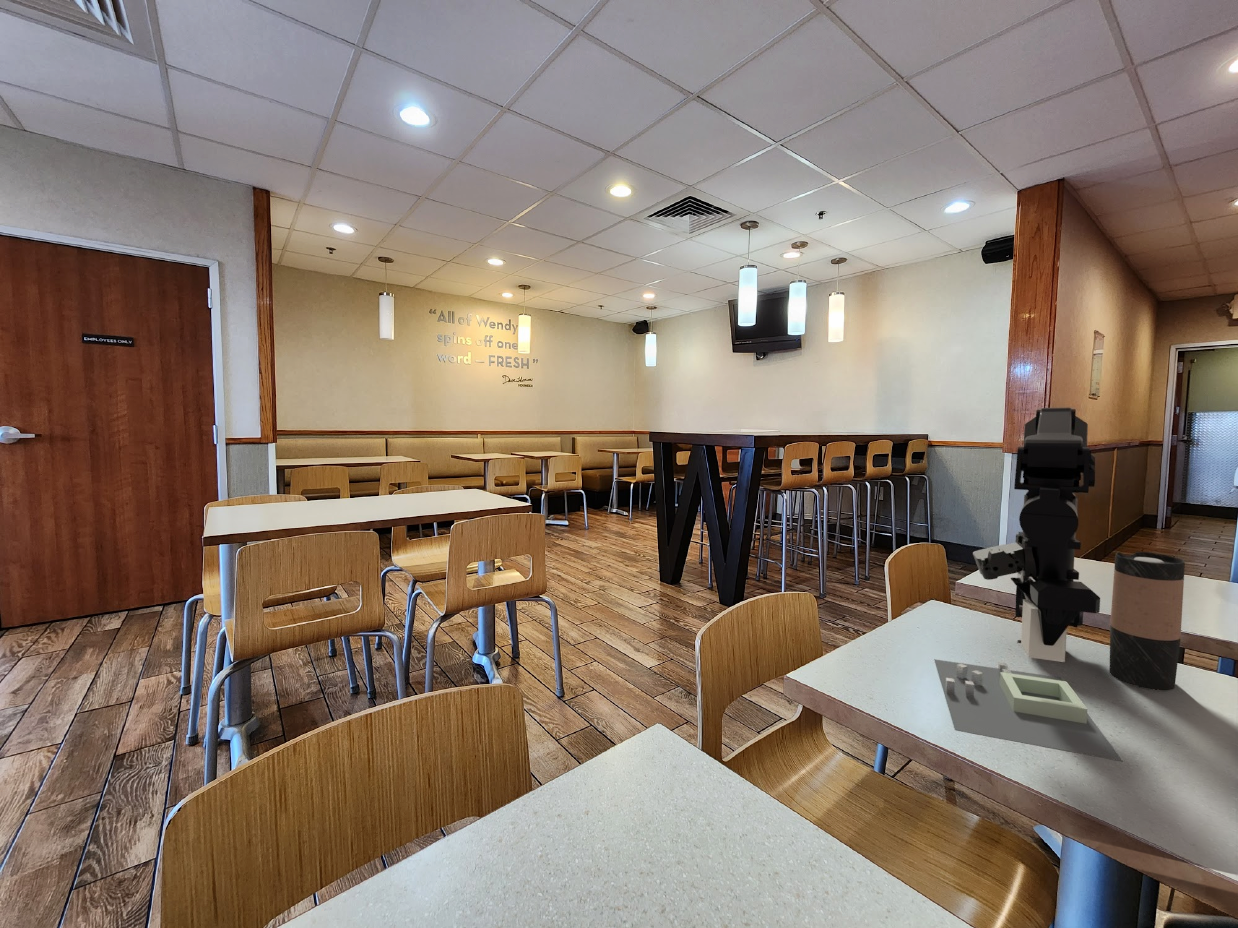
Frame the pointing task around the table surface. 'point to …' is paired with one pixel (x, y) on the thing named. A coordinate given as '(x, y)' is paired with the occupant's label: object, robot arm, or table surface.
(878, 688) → the table surface
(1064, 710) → the end holder
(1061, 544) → the robot arm
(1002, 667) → the set of small cubes
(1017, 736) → the mat
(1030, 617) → the beige rectangular block
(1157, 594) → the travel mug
